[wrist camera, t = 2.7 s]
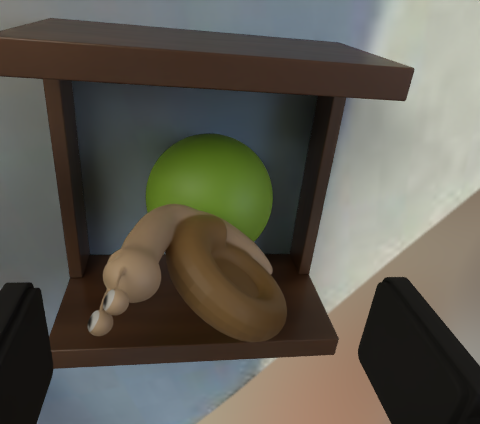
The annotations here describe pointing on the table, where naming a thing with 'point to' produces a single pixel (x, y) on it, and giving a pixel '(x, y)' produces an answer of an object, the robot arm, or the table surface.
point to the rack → (203, 77)
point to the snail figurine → (202, 241)
